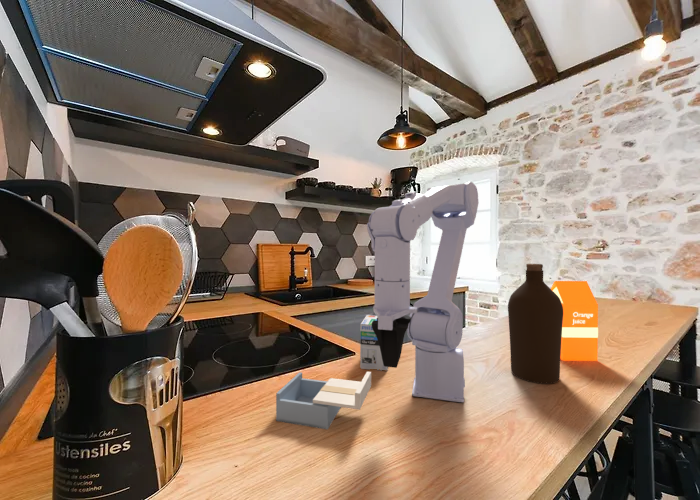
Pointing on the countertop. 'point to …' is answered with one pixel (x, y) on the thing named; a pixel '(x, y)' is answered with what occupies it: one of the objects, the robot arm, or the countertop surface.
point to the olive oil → (535, 329)
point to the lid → (344, 392)
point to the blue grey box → (303, 404)
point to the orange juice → (578, 321)
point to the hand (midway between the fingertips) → (391, 363)
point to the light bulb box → (370, 346)
